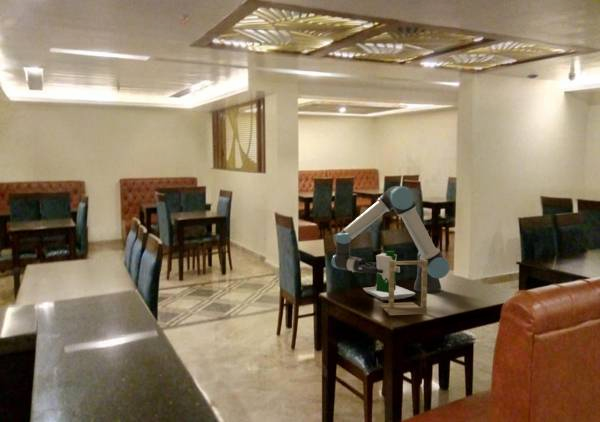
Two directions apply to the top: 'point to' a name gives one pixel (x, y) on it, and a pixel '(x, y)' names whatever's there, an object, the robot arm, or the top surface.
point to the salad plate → (398, 293)
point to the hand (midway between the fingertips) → (394, 271)
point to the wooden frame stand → (406, 307)
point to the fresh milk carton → (384, 264)
